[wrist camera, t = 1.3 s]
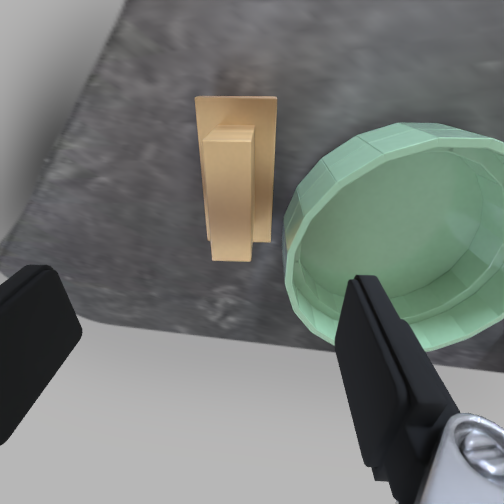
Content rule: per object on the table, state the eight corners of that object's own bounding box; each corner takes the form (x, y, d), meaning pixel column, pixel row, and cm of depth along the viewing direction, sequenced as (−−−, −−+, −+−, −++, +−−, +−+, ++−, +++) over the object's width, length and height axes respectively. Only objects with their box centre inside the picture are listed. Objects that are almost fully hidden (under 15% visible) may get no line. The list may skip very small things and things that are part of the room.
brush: (202, 94, 19) (169, 104, 13) (276, 95, 19) (280, 105, 12) (212, 226, 24) (193, 279, 18) (270, 228, 24) (271, 282, 18)
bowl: (289, 120, 20) (297, 135, 15) (541, 122, 19) (641, 140, 14) (276, 302, 29) (278, 351, 24) (447, 308, 28) (487, 359, 23)
